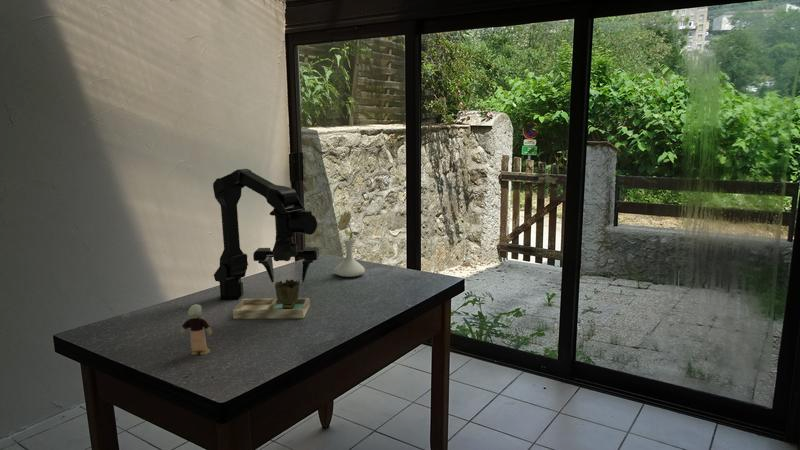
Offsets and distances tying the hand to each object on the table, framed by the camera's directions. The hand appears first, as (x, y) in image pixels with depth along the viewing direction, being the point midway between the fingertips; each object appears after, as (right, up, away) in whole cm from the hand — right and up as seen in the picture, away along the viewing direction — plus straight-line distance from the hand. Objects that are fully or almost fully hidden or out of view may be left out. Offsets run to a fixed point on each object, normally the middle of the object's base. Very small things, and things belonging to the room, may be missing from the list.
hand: (288, 281), depth 169 cm
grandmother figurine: (-17, -15, -27) cm, 36 cm away
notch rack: (-5, -9, +2) cm, 11 cm away
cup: (0, -8, +2) cm, 9 cm away
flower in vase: (+15, -2, +41) cm, 44 cm away
